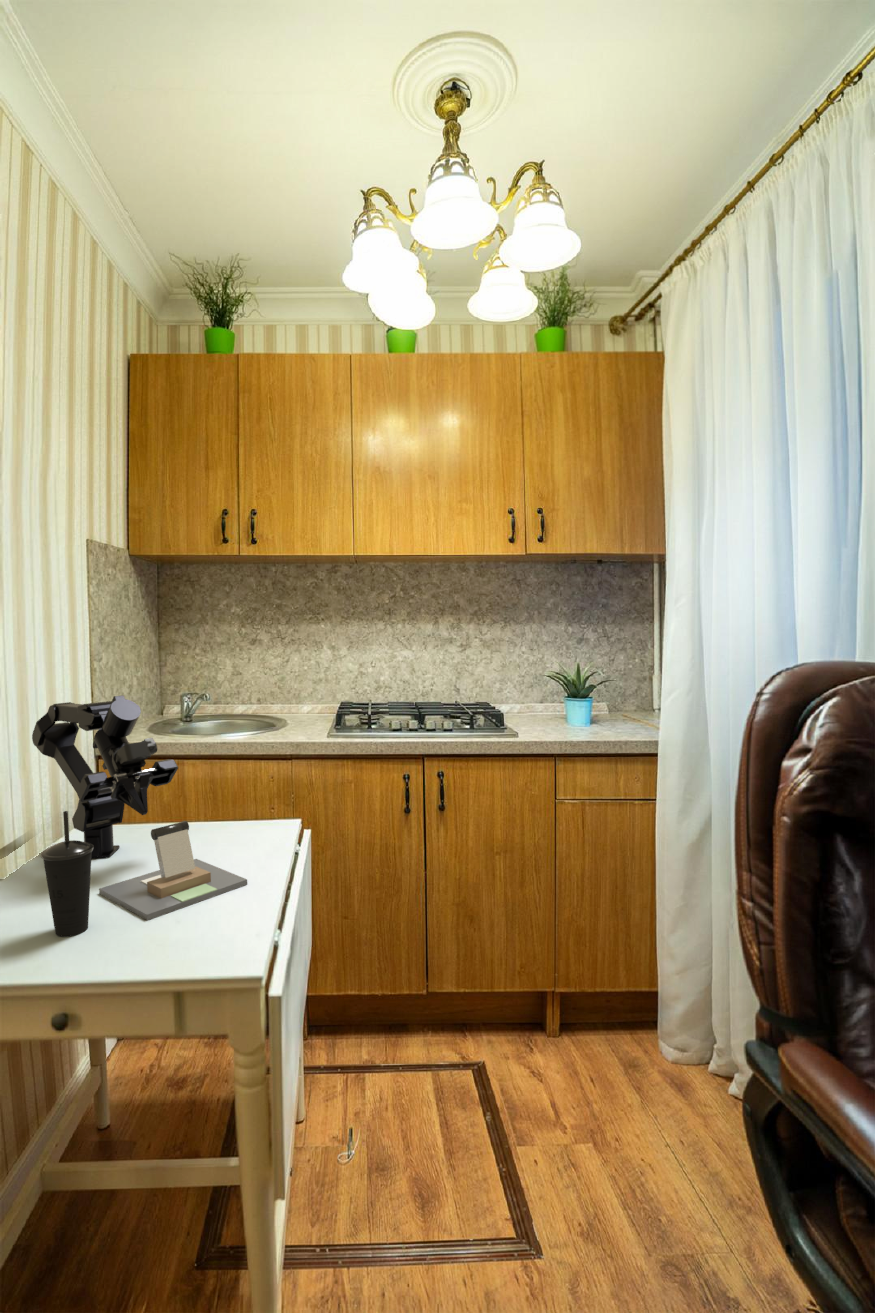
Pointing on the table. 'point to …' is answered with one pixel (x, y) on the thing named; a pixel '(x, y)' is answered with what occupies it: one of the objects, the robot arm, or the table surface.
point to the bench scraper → (173, 849)
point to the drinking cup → (68, 883)
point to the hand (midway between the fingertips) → (145, 813)
